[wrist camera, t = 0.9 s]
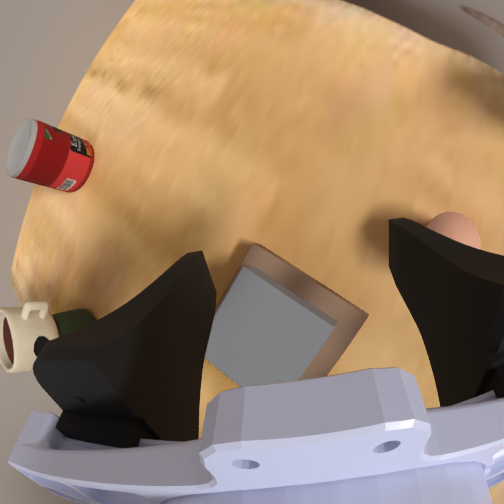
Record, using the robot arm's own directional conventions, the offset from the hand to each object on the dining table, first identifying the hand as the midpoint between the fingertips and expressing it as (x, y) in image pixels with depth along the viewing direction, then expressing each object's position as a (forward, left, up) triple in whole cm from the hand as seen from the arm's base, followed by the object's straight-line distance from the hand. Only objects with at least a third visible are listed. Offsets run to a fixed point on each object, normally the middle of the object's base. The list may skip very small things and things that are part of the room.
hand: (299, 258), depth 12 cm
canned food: (+38, +6, -15) cm, 41 cm away
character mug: (+22, +23, -15) cm, 35 cm away
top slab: (+2, +8, -13) cm, 15 cm away
